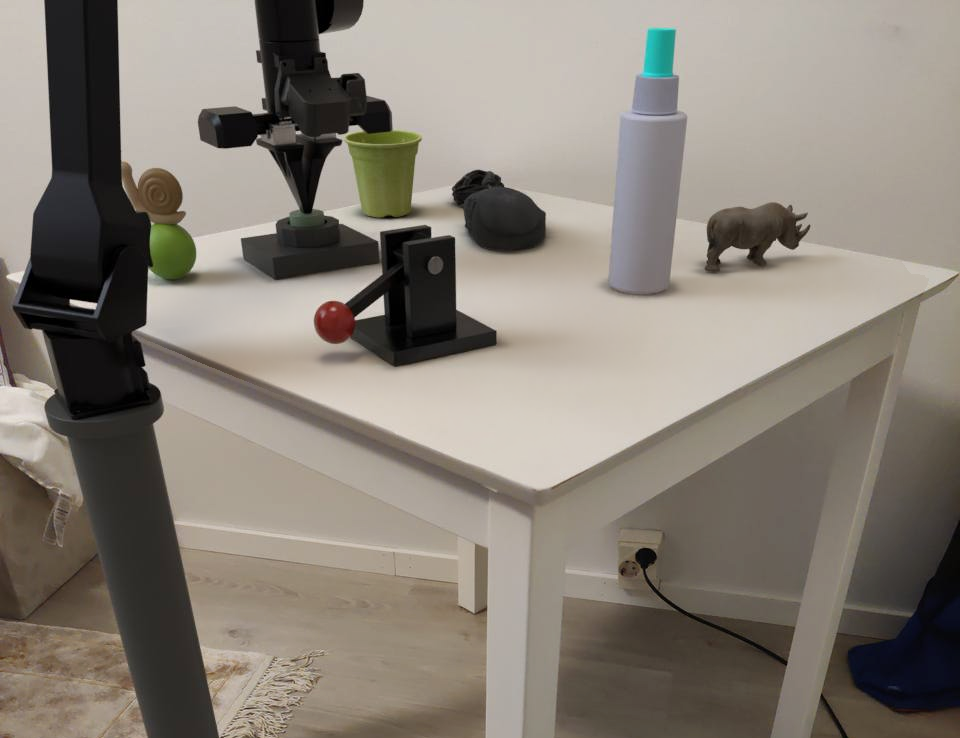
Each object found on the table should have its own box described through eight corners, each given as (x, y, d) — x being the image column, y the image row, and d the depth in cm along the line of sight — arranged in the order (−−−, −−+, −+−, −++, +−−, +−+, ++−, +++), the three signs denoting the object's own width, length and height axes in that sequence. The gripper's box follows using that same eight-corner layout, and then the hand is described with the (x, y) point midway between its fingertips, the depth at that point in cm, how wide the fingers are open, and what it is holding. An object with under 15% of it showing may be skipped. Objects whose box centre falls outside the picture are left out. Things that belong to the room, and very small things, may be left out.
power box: (275, 280, 101) (270, 239, 98) (243, 259, 107) (237, 220, 104) (379, 262, 106) (377, 223, 103) (343, 243, 112) (340, 206, 110)
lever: (337, 357, 81) (316, 324, 78) (320, 345, 83) (299, 312, 81) (449, 269, 82) (432, 233, 80) (429, 259, 85) (412, 224, 82)
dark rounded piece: (474, 255, 108) (474, 202, 105) (441, 191, 134) (440, 146, 130) (559, 252, 109) (561, 199, 106) (510, 188, 135) (510, 144, 132)
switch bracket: (394, 366, 81) (388, 255, 76) (347, 335, 87) (338, 230, 82) (496, 344, 85) (497, 237, 80) (444, 315, 91) (442, 215, 86)
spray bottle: (626, 274, 102) (646, 25, 89) (679, 284, 99) (708, 28, 86) (597, 288, 98) (614, 29, 85) (651, 299, 95) (677, 33, 82)
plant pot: (438, 210, 125) (437, 134, 120) (394, 225, 119) (390, 146, 113) (379, 201, 129) (375, 127, 124) (334, 215, 123) (327, 138, 117)
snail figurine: (149, 269, 104) (125, 143, 97) (208, 271, 103) (187, 145, 96) (128, 284, 99) (100, 154, 92) (188, 287, 99) (166, 155, 92)
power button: (299, 236, 102) (297, 218, 101) (285, 228, 105) (283, 211, 104) (330, 231, 104) (329, 213, 103) (316, 224, 106) (315, 207, 105)
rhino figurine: (818, 260, 106) (830, 200, 103) (712, 275, 102) (720, 213, 98) (794, 251, 109) (804, 192, 106) (690, 265, 105) (697, 205, 101)
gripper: (225, 52, 85) (250, 242, 94) (415, 41, 93) (421, 217, 102) (183, 42, 92) (210, 218, 101) (362, 32, 100) (372, 196, 109)
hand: (306, 212), depth 103 cm, fingers closed, pressing on power button
